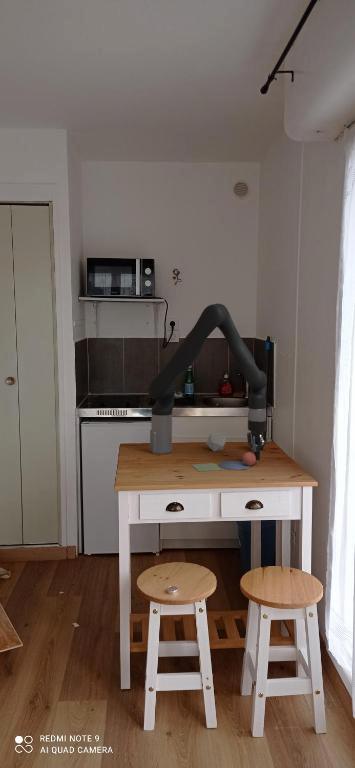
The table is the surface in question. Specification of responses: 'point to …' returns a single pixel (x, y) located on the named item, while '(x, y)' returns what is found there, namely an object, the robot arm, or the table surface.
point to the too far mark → (206, 467)
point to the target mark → (233, 465)
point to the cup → (248, 440)
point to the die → (216, 441)
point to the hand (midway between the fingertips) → (256, 459)
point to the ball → (249, 458)
